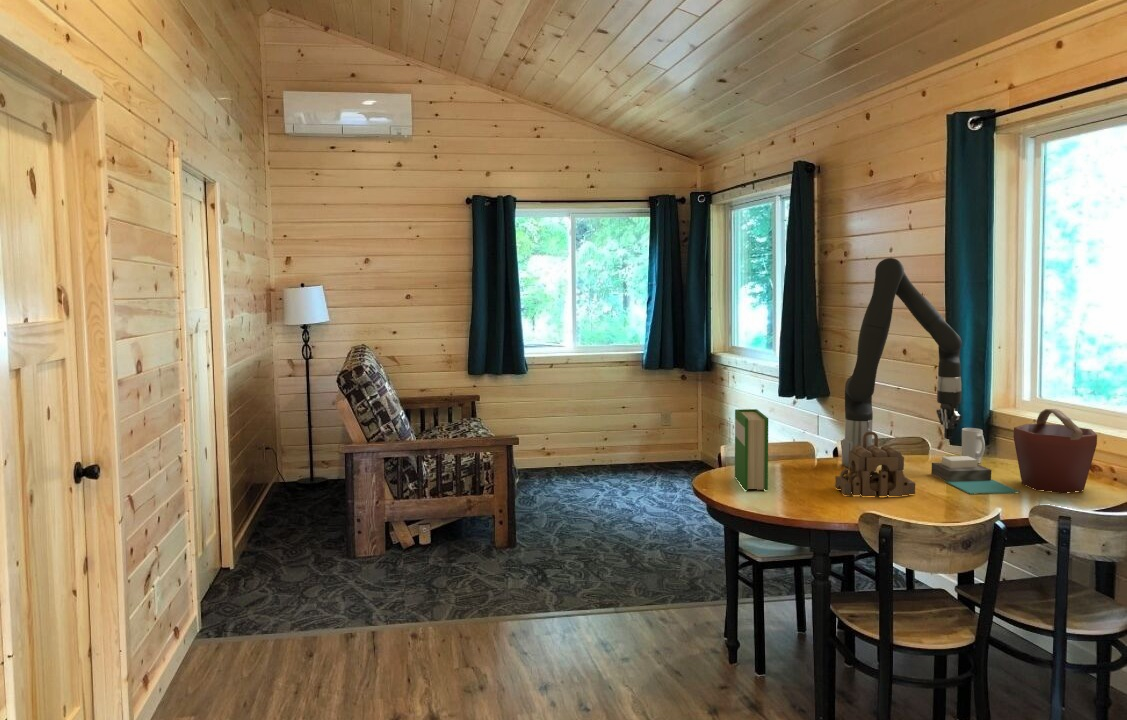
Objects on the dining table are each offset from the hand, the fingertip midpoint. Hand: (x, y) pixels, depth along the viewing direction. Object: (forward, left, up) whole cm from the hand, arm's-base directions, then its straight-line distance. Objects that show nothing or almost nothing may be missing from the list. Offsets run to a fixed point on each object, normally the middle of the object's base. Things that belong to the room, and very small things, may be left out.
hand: (948, 438), depth 278 cm
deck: (0, -9, -12) cm, 15 cm away
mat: (0, -21, -12) cm, 24 cm away
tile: (0, -8, -6) cm, 10 cm away
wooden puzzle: (-36, -23, -12) cm, 44 cm away
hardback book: (-72, -10, -12) cm, 74 cm away
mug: (+16, +11, -12) cm, 23 cm away
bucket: (+22, -23, -12) cm, 34 cm away
